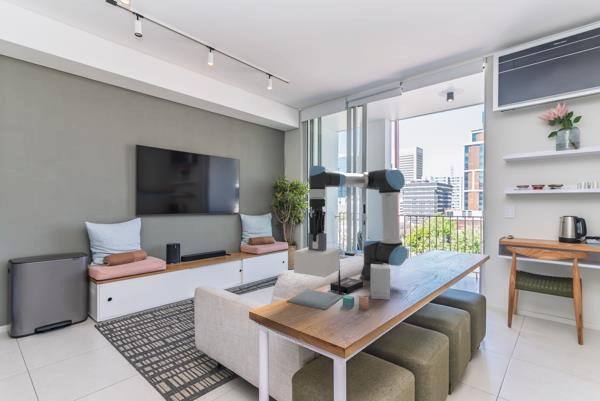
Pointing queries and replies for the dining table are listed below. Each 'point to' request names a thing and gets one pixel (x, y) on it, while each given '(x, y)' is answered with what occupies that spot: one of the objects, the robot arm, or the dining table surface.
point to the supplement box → (380, 281)
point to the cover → (317, 258)
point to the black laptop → (346, 285)
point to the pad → (315, 299)
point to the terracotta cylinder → (363, 303)
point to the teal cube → (348, 301)
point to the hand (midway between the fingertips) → (317, 247)
